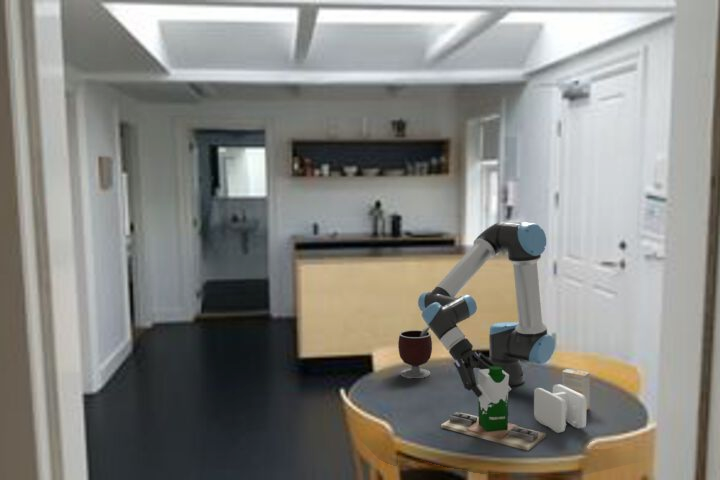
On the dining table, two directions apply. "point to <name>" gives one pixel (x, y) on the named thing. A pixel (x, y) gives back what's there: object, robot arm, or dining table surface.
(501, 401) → the soya milk
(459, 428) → the board with end clamps
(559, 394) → the cable organizer
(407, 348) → the mate gourd
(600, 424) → the dining table surface
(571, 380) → the supplement box
